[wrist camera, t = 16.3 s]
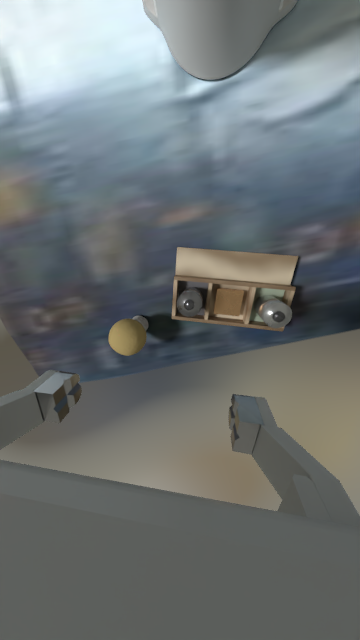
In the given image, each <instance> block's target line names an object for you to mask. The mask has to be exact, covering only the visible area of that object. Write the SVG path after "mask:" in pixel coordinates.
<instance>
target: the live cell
mask: <svg viewBox="0 0 360 640" xmlns="http://www.w3.org/2000/svg"><path fill="white" fill-rule="evenodd" d="M254 309H255V311H256V313H257V314H258V315H259V316H260V317H261V319H262V320H263V321H264V322H265V323H266V324H267V325H268V326H269V327H271V328H281V327H284V326H285V325H287V324H288V323H289V322H290V320H291V318H292V310H291V308H290V307H289V306H288V305H286V304H285V303H283V302H281V301H280V300H278V299H277V298H275V297H274V296H272V295H262V296H260V297H259V298H257V300H256V301H255V303H254Z"/></svg>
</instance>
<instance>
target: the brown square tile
mask: <svg viewBox="0 0 360 640" xmlns="http://www.w3.org/2000/svg"><path fill="white" fill-rule="evenodd" d="M243 295H244V291H243V290H235V289H225V288H217V291H216V298H215V305H214V314H222V315H231V316H239V315H240V310H241V305H242V300H243Z"/></svg>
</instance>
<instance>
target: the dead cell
mask: <svg viewBox="0 0 360 640" xmlns="http://www.w3.org/2000/svg"><path fill="white" fill-rule="evenodd" d="M202 301H203V295H202V293H201V291H200V290H199V289H198V288H195V287H189V288H187V289H185V290H184V291H183V292H182V294H181V295H180V296H179V298H178V300H177V308H178V310H179V312H180V313H181V314H182V315H184V316H187V317H192V316H195V315H197V314H198V313H199V312H200V311H201V308H202Z"/></svg>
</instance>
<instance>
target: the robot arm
mask: <svg viewBox="0 0 360 640" xmlns="http://www.w3.org/2000/svg"><path fill="white" fill-rule="evenodd" d="M297 1H298V0H142V2H143V8H144V11H145V13H146V15H147V16H148V18H149V19H150V20H151V21H152V22H153V23H154V24H155V25H156V26H157V27H158V28H159V29H160V30H161V32H162V34H163V36H164V38H165V40H166V43H167V45H168V47H169V50H170V52H171V54H172V55H173V57H174V58H175V60H176V61H177V63H178V64H179V65H180V66H181V67H182V68H183V69H184V70H185V71H186V72H188V73H189V74H191V75H193V76H195V77H197V78H201V79H206V80H214V79H220V78H223V77H226V76H228V75H231V74H232V73H234V72H236V71H237V70H239V69H240V68H241V67H243V66H244V65H245V64H246V63H247V62H248V61H249V60H250V59H251V58H252V57H253V55H254V54H255V53H256V52H257V50H258V49H259V47H260V46H261V44H262V43H263V41H264V39H265V38H266V36H267V35H268V33H269V31H270V30H271V29H272V27H273V26H274V25H275V24H276V23H277V22H279V21H280V20H281V19H282V18H283V17H284V16H286V15H287V14H288V13H289V12H290V11H291V10H292V9H293V7H294V6H295V5H296V3H297ZM79 381H80V378H79V375H78V374H75V373H69V372H63V371H55V370H49V371H47V372H45V373H44V374H43V375H42V376H40V377H39V378H38V379H36V380H35V381H34V382H32V383H31V384H30V385H28V386H27V387H26V388H25V389H23V390H18V391H15V392H13V393H10V394H8V395H5V396H2V397H0V450H1V449H2V448H4V447H5V446H7V445H9V444H10V443H12V442H13V441H15V440H16V439H18V438H20V437H21V436H23V435H24V434H26V433H27V432H29V431H31V430H32V429H34V428H35V427H37V426H38V425H40V424H42V423H43V422H44V421H46V422H55V423H61V422H62V420H63V419H64V418H65V417H66V415H67V414H68V413H69V411H70V407H72V406H74V405H76V404H77V402H78V401H79V399H80V396H81V393H82V388H81V386H80V385H79V384H78V382H79ZM231 403H232V406H231V407H230V408H229V428H230V429H231V430H232V433H231V443H232V450H233V451H236V452H241V453H246V454H251V455H252V456H253V458H254V459H255V461H256V462H257V463H258V465H259V467H260V468H261V469H262V471H263V472H264V474H265V475H266V477H267V478H268V480H269V481H270V483H271V484H272V485H273V487H274V488H275V490H276V491H277V493H278V494H279V495H280V497H281V498H282V502H281V504H280V506H279V509H278V511H272V510H267V509H261V508H256V507H251V506H245V505H240V504H235V503H229V502H224V501H218V500H213V499H208V498H203V497H197V496H192V495H186V494H181V493H175V492H170V491H165V490H159V489H154V488H149V487H143V486H138V485H133V484H127V483H122V482H117V481H111V480H106V479H100V478H95V477H89V476H84V475H79V474H74V473H68V472H63V471H57V470H52V469H47V468H41V467H36V466H30V465H25V464H20V463H14V462H9V461H4V460H0V640H360V516H359V514H358V513H357V510H356V509H355V507H354V505H353V503H352V502H351V500H350V498H349V497H348V495H347V493H346V491H345V490H344V488H343V486H342V485H341V483H340V481H339V480H338V479H336V477H334V476H333V475H332V474H331V473H330V472H329V471H328V470H327V469H326V468H325V467H323V466H322V465H321V464H320V463H319V462H318V461H317V460H316V459H315V458H314V457H313V456H311V455H310V454H309V453H308V452H307V451H306V450H305V449H304V448H303V447H301V445H299V444H298V443H297V442H296V441H295V440H294V439H293V438H292V437H291V436H290V435H288V434H287V433H286V432H285V431H284V430H283V429H282V428H279V427H277V424H276V422H275V419H274V417H273V415H272V412H271V410H270V408H269V405H268V403H267V400H266V399H265V398H262V397H252V396H244V395H236V394H233V395H232V398H231Z"/></svg>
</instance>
